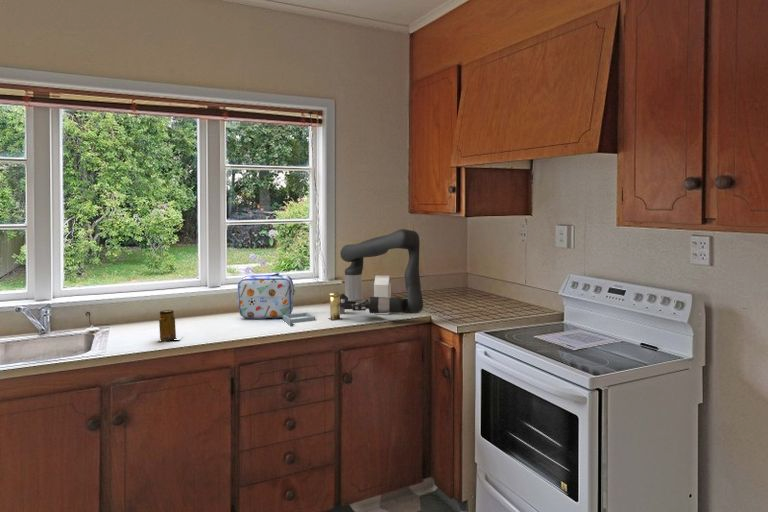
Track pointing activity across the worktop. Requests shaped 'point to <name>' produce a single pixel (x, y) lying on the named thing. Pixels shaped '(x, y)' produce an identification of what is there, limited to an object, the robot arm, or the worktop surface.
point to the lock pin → (335, 305)
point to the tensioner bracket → (342, 301)
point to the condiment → (167, 325)
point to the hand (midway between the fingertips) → (344, 305)
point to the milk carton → (382, 288)
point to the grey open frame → (290, 321)
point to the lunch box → (265, 296)
